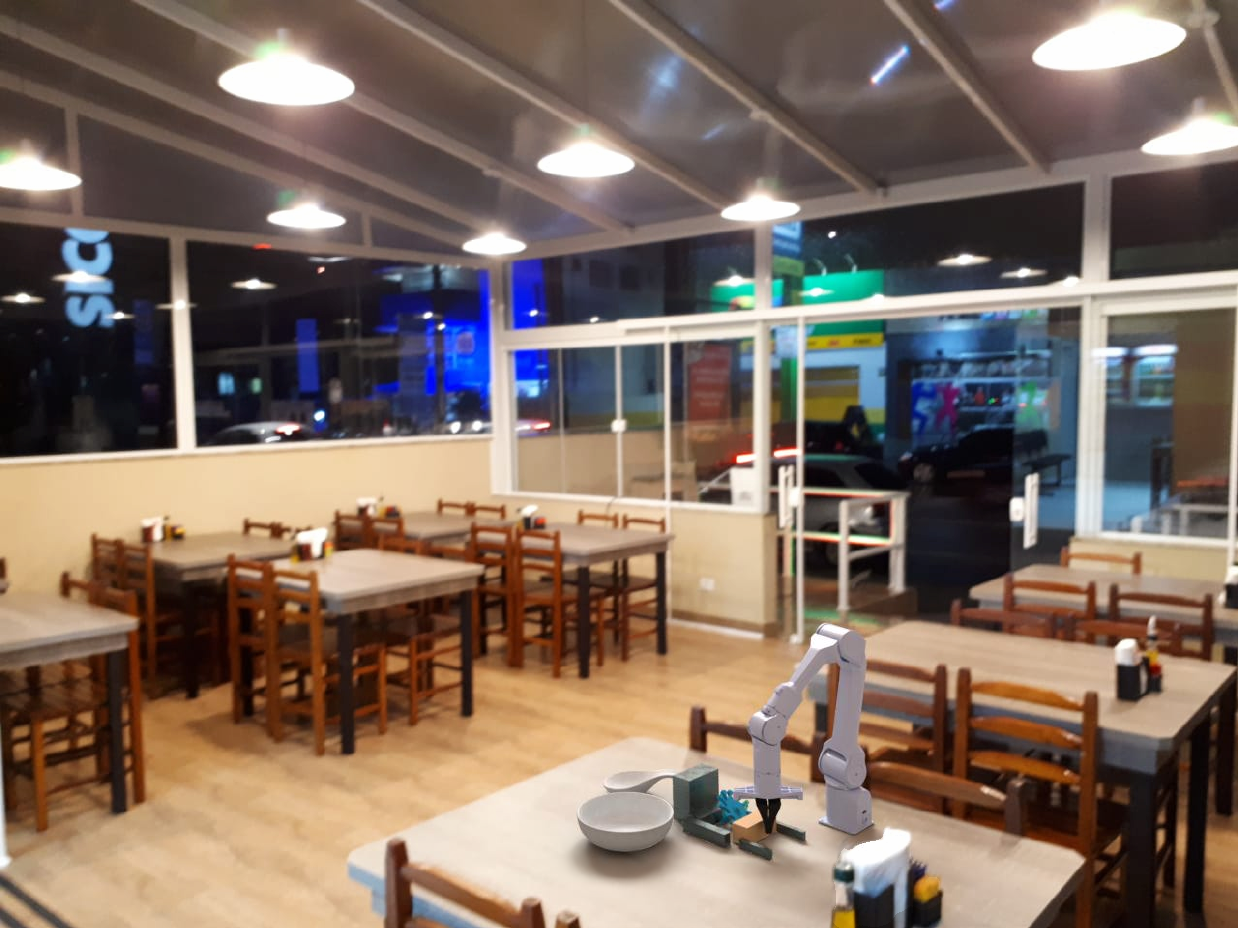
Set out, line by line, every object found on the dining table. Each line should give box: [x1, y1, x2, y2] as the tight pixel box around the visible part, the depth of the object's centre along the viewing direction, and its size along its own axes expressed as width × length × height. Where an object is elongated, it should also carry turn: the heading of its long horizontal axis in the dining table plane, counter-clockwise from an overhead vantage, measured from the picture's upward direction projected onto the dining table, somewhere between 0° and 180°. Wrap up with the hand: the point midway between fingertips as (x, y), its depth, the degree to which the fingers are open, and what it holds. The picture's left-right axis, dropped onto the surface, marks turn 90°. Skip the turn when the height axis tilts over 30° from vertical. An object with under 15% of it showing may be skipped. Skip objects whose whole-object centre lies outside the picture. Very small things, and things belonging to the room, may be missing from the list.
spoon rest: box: [602, 768, 681, 794], centre depth 228 cm, size 24×12×7 cm, turn 68°
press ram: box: [731, 809, 777, 844], centre depth 206 cm, size 4×10×4 cm, turn 134°
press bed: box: [672, 762, 807, 862], centre depth 208 cm, size 28×15×10 cm, turn 44°
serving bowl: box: [576, 792, 674, 852], centre depth 206 cm, size 21×21×7 cm
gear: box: [717, 789, 753, 827], centre depth 212 cm, size 11×6×10 cm
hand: (768, 831), depth 203 cm, fingers closed
